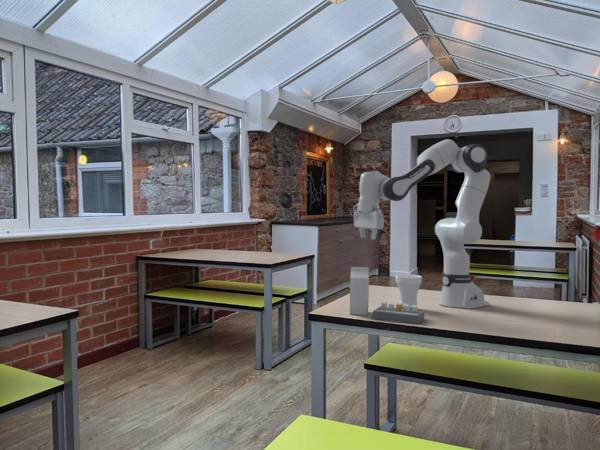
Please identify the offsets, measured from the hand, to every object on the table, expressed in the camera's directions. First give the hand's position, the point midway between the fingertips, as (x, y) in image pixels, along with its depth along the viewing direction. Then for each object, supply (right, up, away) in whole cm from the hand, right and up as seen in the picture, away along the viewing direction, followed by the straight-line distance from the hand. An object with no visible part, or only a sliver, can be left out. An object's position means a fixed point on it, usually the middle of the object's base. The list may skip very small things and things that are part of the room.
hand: (368, 238), depth 215 cm
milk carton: (-6, -30, -14) cm, 34 cm away
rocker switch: (+9, -27, -23) cm, 37 cm away
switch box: (+9, -31, -23) cm, 39 cm away
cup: (+17, -30, -4) cm, 35 cm away
